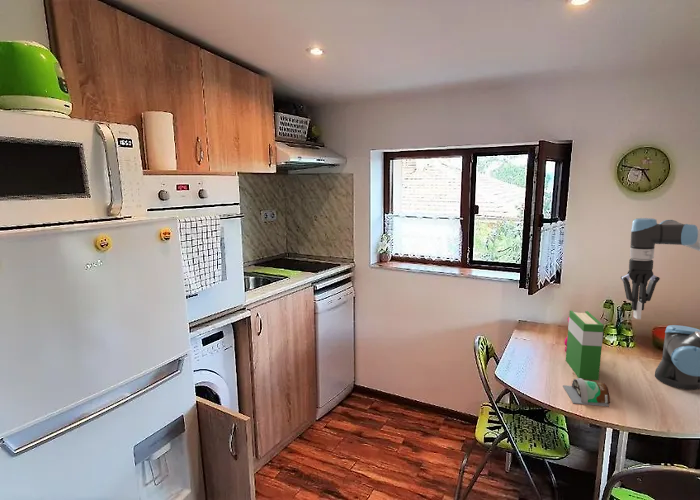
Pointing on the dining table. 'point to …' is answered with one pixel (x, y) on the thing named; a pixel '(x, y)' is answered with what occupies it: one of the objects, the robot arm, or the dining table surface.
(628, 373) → the dining table surface
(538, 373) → the dining table surface
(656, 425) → the dining table surface
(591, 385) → the food container
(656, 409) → the dining table surface
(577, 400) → the mat
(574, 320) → the hardback book
